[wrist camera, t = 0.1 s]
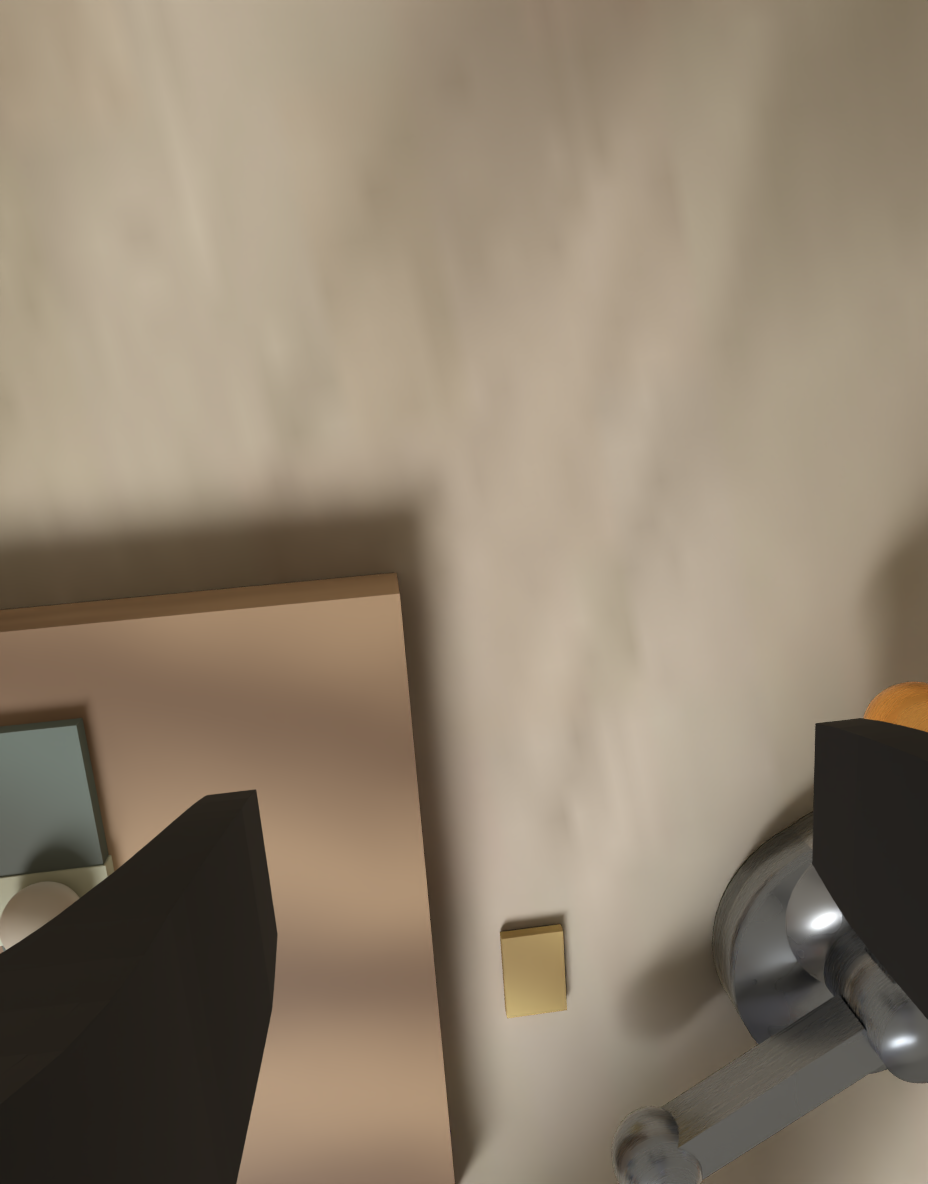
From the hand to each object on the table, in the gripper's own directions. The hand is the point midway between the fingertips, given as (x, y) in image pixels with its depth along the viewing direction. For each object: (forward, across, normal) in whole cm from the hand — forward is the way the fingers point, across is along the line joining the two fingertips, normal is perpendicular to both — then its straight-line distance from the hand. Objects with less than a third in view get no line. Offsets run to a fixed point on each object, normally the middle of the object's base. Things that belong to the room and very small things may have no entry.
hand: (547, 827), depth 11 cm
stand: (+10, +8, +8) cm, 15 cm away
